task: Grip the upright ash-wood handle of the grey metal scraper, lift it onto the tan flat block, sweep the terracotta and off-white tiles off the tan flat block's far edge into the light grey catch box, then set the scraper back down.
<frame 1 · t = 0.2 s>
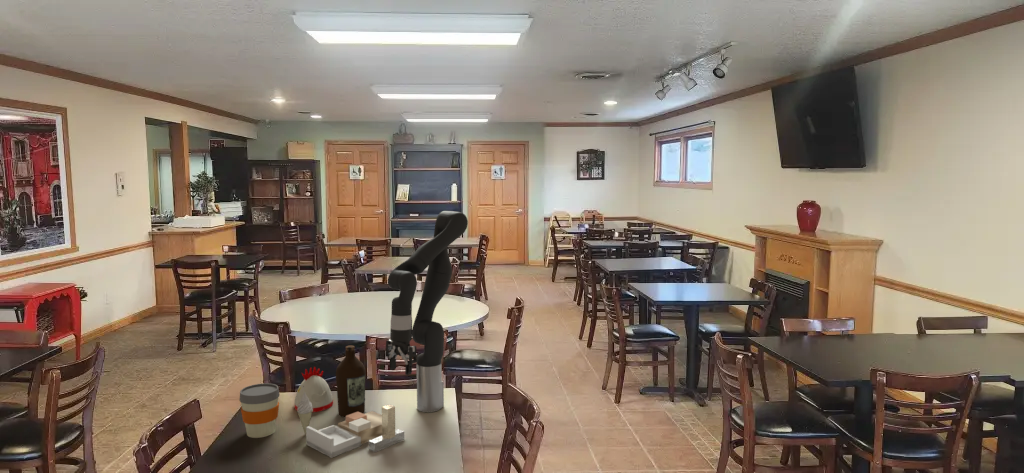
hand: (400, 371, 216), 18 cm above the table, tool pointing down, fingers open, 8 cm apart
catch box: (333, 445, 197), on the table
brown rum bottle: (351, 413, 224), on the table
offwhite tile: (359, 427, 201), point 4 cm above the table, touching tan flat block
terracotta tile: (356, 421, 206), point 4 cm above the table, touching tan flat block
reusable coffee cup: (261, 432, 207), on the table
kitchen timer: (314, 406, 231), on the table
scraper: (387, 444, 198), on the table
ice cream cone: (305, 434, 205), on the table
tan flat block: (366, 432, 207), on the table
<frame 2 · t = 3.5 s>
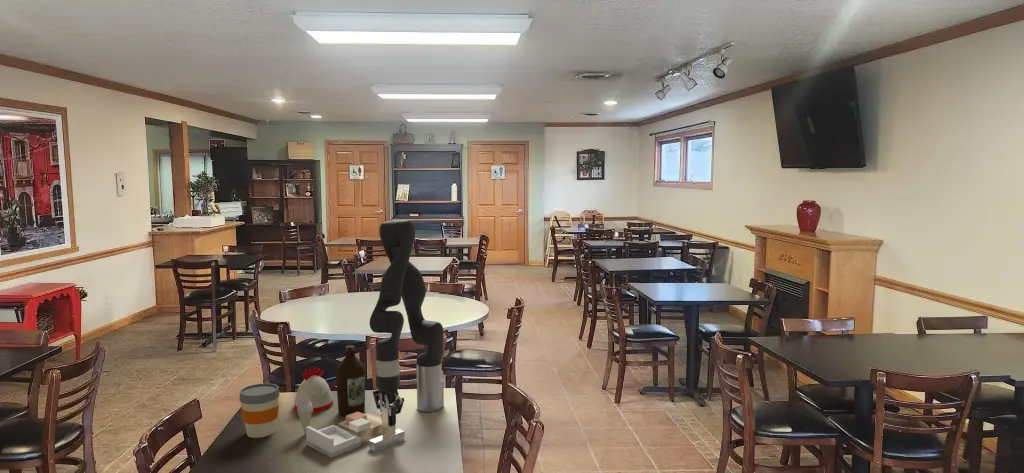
hand: (388, 423, 196), 7 cm above the table, tool pointing down, fingers closed on scraper, 3 cm apart
scraper: (387, 444, 198), on the table, touching gripper
everything else where it was.
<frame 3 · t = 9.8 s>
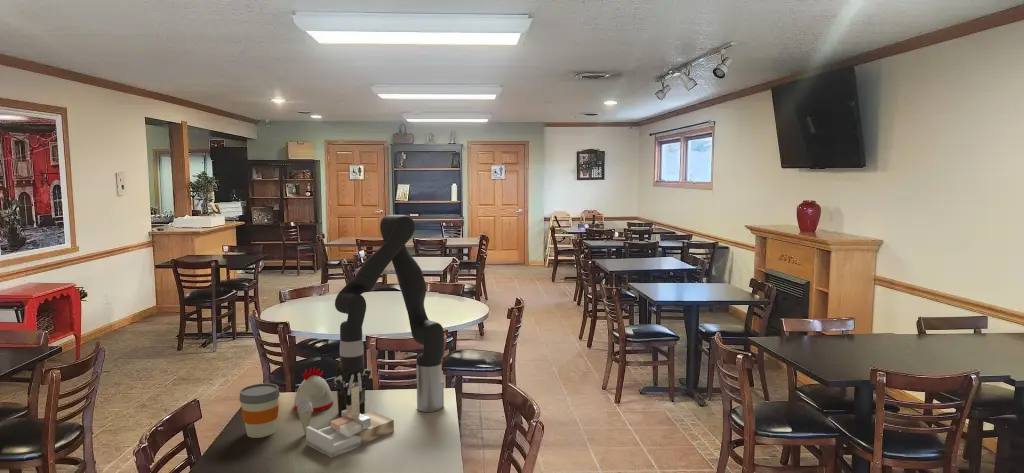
hand: (352, 403, 202), 12 cm above the table, tool pointing down, fingers closed on scraper, 3 cm apart
offwhite tile: (351, 431, 198), point 4 cm above the table, touching tan flat block, scraper
terracotta tile: (341, 426, 202), point 4 cm above the table, touching tan flat block, scraper
scraper: (355, 423, 203), point 5 cm above the table, touching gripper, offwhite tile, terracotta tile
everything else where it was.
when the fingers open (8 cm above the table, at t = 17.6 s): scraper stays where it is, on the table.
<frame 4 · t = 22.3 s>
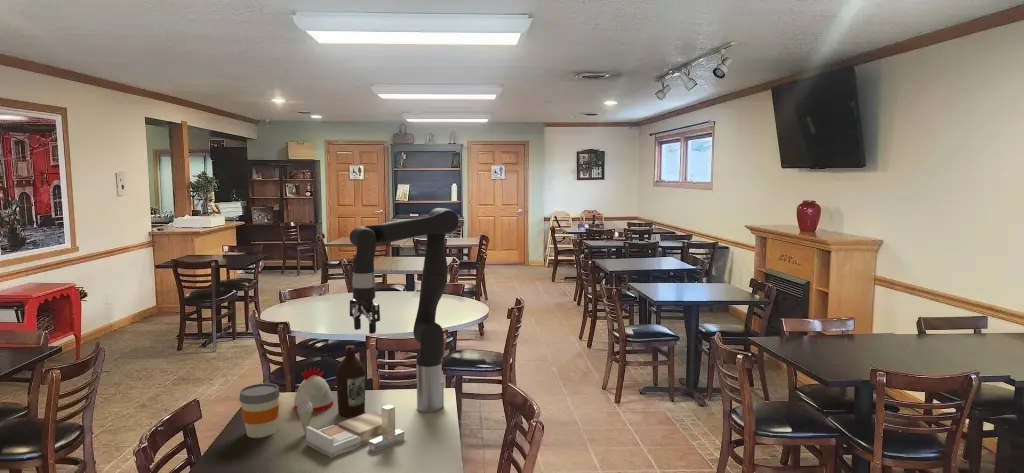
hand: (364, 331, 211), 33 cm above the table, tool pointing down, fingers open, 8 cm apart
offwhite tile: (342, 441, 196), point 1 cm above the table, touching catch box
terracotta tile: (333, 436, 200), point 1 cm above the table, touching catch box
scraper: (387, 444, 198), on the table
everything else where it was.
at the end: terracotta tile inside the target area on the catch box (3.2 cm from its centre), point 1.5 cm above the catch box's base; offwhite tile inside the target area on the catch box (3.1 cm from its centre), point 1.5 cm above the catch box's base; the gripper is holding nothing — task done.
